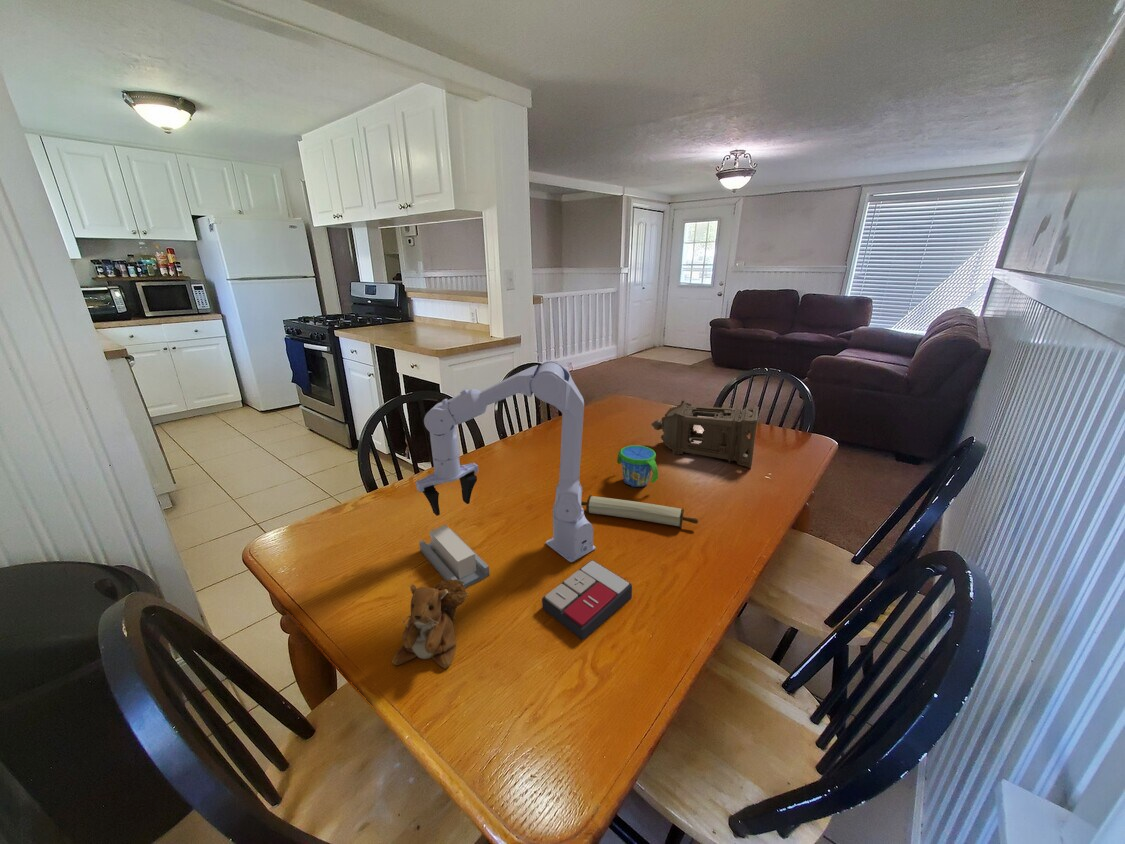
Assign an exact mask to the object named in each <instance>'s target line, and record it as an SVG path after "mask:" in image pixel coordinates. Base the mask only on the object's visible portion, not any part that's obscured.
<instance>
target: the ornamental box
mask: <svg viewBox="0 0 1125 844" xmlns="http://www.w3.org/2000/svg"><path fill="white" fill-rule="evenodd" d="M759 410H760V409H759V406H748V407H747V406H745V407H744V409H741V408H740V407H738V405H736V407H735V408H733V407H731V408H730V407H711V406H699V405H698V406H697V405H693V404H692V403H690V402H687V401H686V400H685V399H684V400H683V399H682V400H681V402H680V404H678V405H676V406H673V407H671V408H669V409H667V411H666V413H665V414H664V416H662V417H661V420H660V419H655V421H653V422H651V426H652V427H653V429H654V430H656V431H659V430H661V431H662V432H663V434H661V436H660V439H661V440H662V442H663V443H664V446H665V447H667V448H668V449H671V451H672V452H671V453H672V455H673V456H675V455H676V456H678V455H683V454H684V453H687V454H692V455H693V454H694V455H700V456H705V457H710V458H715V459H716V458H717V459H722V460H723V459H724V460H727V461H728V464H730V463H731V462H732V461H735V462H736V463H737V465H739V466H743V467H746V468H748V469H752V465H753V459H754V450H755V449H754V448H755V443H756V442H755V440H756V433H757V426H758V420H759V419H758V418H759ZM694 426H700V427H701V428H702V429H703V431H702V432H698V431H697V430H695V429H694ZM749 435H750V436H749ZM748 436H749V437H748ZM695 441H696V442H697V441H698V442H699V443H695Z"/></svg>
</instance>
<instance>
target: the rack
mask: <svg viewBox="0 0 1125 844" xmlns="http://www.w3.org/2000/svg"><path fill="white" fill-rule="evenodd" d="M449 529H450V530H451V531H452V532H453V533H454V534H455V535H456V536H457V537H459V538H460V539H461V540H462V541H463V542H464V543H465V544H466V545H467V546H468V547H469V548H470V549H471V550H472V551H473V552H474V553H475V560H476V570H477V571H475V572H473V573H471V574H469V575H467V576H465V577H463V578H461V579H459V578H458V577H457V576H456V574H455V573H454V572H453V571H452V570H451V569H450V568H449V566H448V565H447V564H446V563H445V562H444V561H443V560H442V558H441V557H440V556H439V555H438V554H437V553H436V552H435V550H434V549H433V548H432V545H431V542H429V543H427V542H426V541H425V540H424V539H423V540H420V541H419V542H418V543H419V549H420V552H421V553H422V554H423V556H424V557H425V558H426V559H427V560H428V561H429V563H430V564H431V565H432V567H434V569H435V570H436V571H437V572H438V573H439V575H440V576H441V577H442V578H443V580H448V579H449V580H450V579H451V580H457V579H458V580H459V581H462V582H463V581H464V583H465V584H463V585H464V586H465V589H466V588H468V587H470V586H472V585H474V584H476V583H478V582H480V581H483V580H484V579H486V578H488V577H490V565H488V564H487V563H486V562H485V561H484V560H483V559H482V558H481V557H480V556H479V554H477V553H476V552H475V551H474V550H473V549H472V548H471V547H470V545H468V544H467V543H466V542H465V541H464V540H463V539H462V538H461V537H460V536H458V534H457V533H455V531H453V529H452V528H449Z"/></svg>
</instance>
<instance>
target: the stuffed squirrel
mask: <svg viewBox="0 0 1125 844" xmlns="http://www.w3.org/2000/svg"><path fill="white" fill-rule="evenodd" d="M463 584H465V583H464V581H463V582H462V581H459V580H458V579H457V580H451V579H450V580H449V579H448V580H445V579H443V580H440V582H438V583H436V584H435V585H434V586H433V587H428V586H420V587H416V586H415V584H414V583H413V584H411V585H410V586H409V590H410V591H411V594H412V596H411V600H410V615H408V616H407V617H406V618H404V620H403V621H402V623H403V624H404V623H405V621H406V620H407V619H408V620H407V624H406V626H405V628H404V631H403V633H402V643H403V644H402V645H401V646H400V647H399V648H398V649H397V651H396V652H395V653H394V655H393V657H392V660H391V662H392V664H393V665H395V666H399V665H403V664H405V663H406V662H409V661H411V660H413V659H414V658H416V657H418V658H419V659H423V660H427V659H431V658H432V660H433V661H434V662H435V663H436V664H437V665H438V666H440V667H441V668H443V669H445V670H446V669H448V668H449V667H450V666H451V664H452V662H453V660H454V656H455V652H456V649H457V641H456V633H455V627H454V623H455V622H456V612H457V611H456V610H457V609H458V607H459V606H460V605H463V603H464V602H465V601H466V600H465V599H466V598H467V597H469V595H468V594H469V593H468V592H467V590H466V588H465V586H464V585H463Z"/></svg>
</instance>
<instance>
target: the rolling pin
mask: <svg viewBox="0 0 1125 844" xmlns="http://www.w3.org/2000/svg"><path fill="white" fill-rule="evenodd" d="M581 506H585V511H586V514H596V515H603V516H604V515H605V516H611V517H618V518H624V519H625V518H626V519H631V520H632V519H633V520H638V521H644V522H645V521H646V522H649V523H650V522H651V523H658V524H663V525H669V526H674V527H679V529H682V528H683V521H685V522H688V523H691V524H698V523H699V519H697V518H695V517H687V516H684V513H685V512H684V511H685V509H684V507H683V508H680V507H679V508H678V507H674V506H673V507H672V506H667V505H661V504H653V503H647V502H640V501H633V500H627V499H619V498H611V497H602V496H594V495H592V494H589V495H588V498H587V499H586V501H583V500H581Z"/></svg>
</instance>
